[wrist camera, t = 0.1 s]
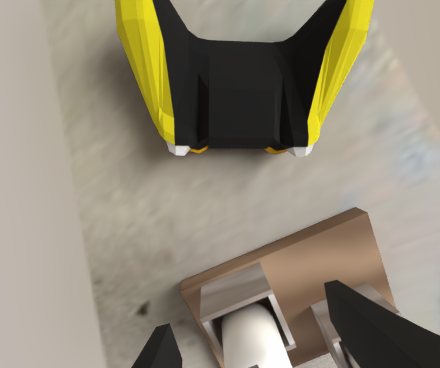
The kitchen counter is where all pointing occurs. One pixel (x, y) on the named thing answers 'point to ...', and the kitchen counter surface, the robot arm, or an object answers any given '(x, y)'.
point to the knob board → (294, 285)
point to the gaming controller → (240, 77)
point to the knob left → (252, 339)
